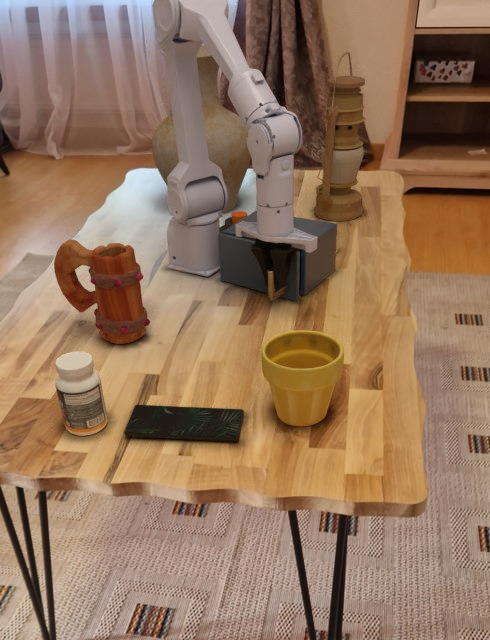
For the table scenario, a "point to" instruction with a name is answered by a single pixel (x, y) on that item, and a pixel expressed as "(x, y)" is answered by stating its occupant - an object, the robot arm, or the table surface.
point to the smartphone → (185, 423)
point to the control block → (226, 224)
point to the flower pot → (302, 374)
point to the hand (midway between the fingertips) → (275, 285)
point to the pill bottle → (80, 394)
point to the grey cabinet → (311, 264)
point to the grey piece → (253, 268)
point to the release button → (238, 216)
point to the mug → (105, 288)
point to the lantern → (341, 150)
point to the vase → (209, 134)
